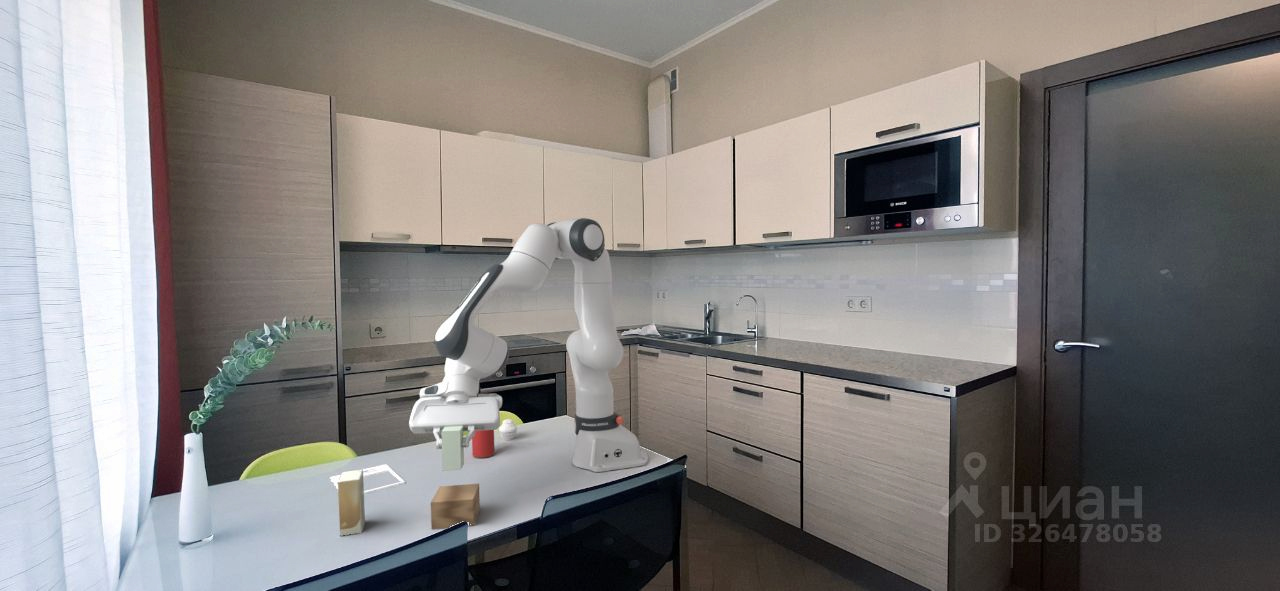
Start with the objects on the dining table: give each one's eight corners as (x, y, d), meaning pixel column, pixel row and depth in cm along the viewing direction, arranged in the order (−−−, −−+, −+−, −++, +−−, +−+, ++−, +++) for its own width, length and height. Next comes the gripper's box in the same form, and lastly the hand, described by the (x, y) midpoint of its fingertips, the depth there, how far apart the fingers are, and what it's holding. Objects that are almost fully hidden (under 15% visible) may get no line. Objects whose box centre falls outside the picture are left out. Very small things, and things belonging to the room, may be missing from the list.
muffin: (520, 436, 183) (519, 416, 183) (513, 442, 177) (513, 421, 177) (503, 436, 184) (502, 416, 184) (496, 441, 178) (495, 421, 178)
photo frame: (386, 463, 157) (404, 481, 143) (386, 467, 157) (404, 485, 143) (329, 476, 148) (343, 496, 134) (330, 480, 148) (344, 500, 134)
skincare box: (344, 524, 120) (341, 471, 120) (365, 520, 122) (363, 468, 121) (339, 537, 114) (336, 481, 114) (361, 533, 116) (359, 478, 115)
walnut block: (479, 508, 127) (479, 483, 127) (473, 525, 118) (472, 499, 118) (440, 511, 126) (439, 486, 126) (431, 529, 117) (430, 502, 117)
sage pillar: (464, 463, 124) (463, 425, 123) (460, 469, 120) (459, 430, 120) (446, 464, 123) (445, 426, 123) (442, 471, 119) (441, 431, 119)
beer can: (497, 451, 168) (496, 414, 167) (489, 459, 161) (488, 420, 161) (477, 451, 168) (476, 414, 168) (469, 458, 162) (467, 419, 161)
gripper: (504, 399, 134) (500, 450, 125) (418, 403, 131) (408, 456, 122) (501, 385, 129) (498, 437, 120) (413, 389, 126) (402, 442, 117)
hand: (452, 447), depth 121 cm, fingers closed on sage pillar, 4 cm apart
